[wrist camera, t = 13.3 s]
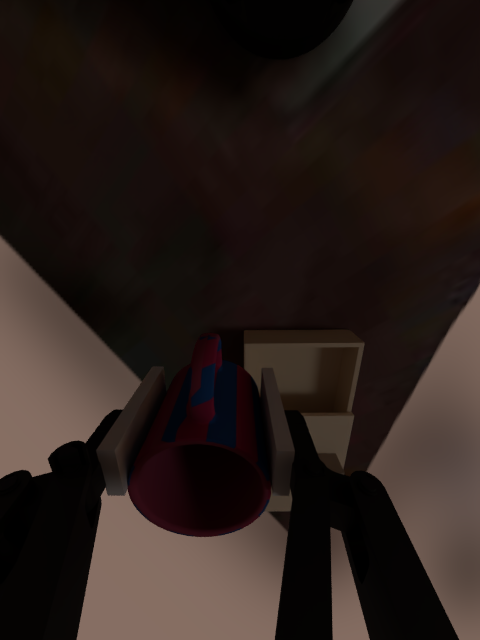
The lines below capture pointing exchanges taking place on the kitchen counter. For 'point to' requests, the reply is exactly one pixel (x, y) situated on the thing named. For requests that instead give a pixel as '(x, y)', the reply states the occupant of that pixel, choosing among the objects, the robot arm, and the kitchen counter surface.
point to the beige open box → (307, 366)
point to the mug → (204, 450)
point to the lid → (322, 447)
